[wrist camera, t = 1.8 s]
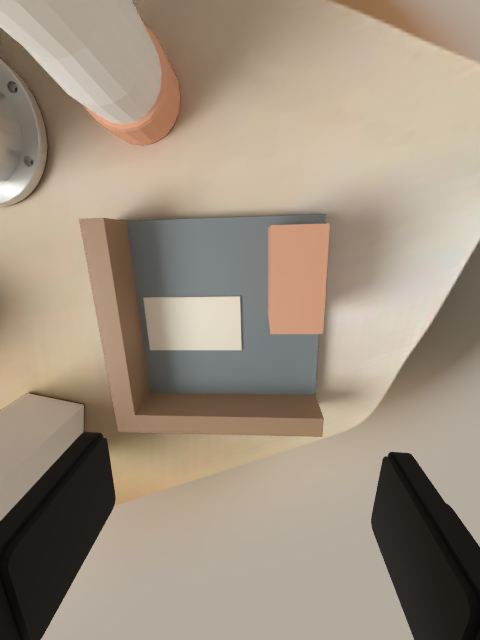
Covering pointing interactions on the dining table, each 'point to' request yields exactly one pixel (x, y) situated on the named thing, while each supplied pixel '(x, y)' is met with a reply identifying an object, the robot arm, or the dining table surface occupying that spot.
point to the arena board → (198, 328)
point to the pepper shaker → (101, 61)
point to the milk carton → (33, 442)
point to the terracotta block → (297, 277)
